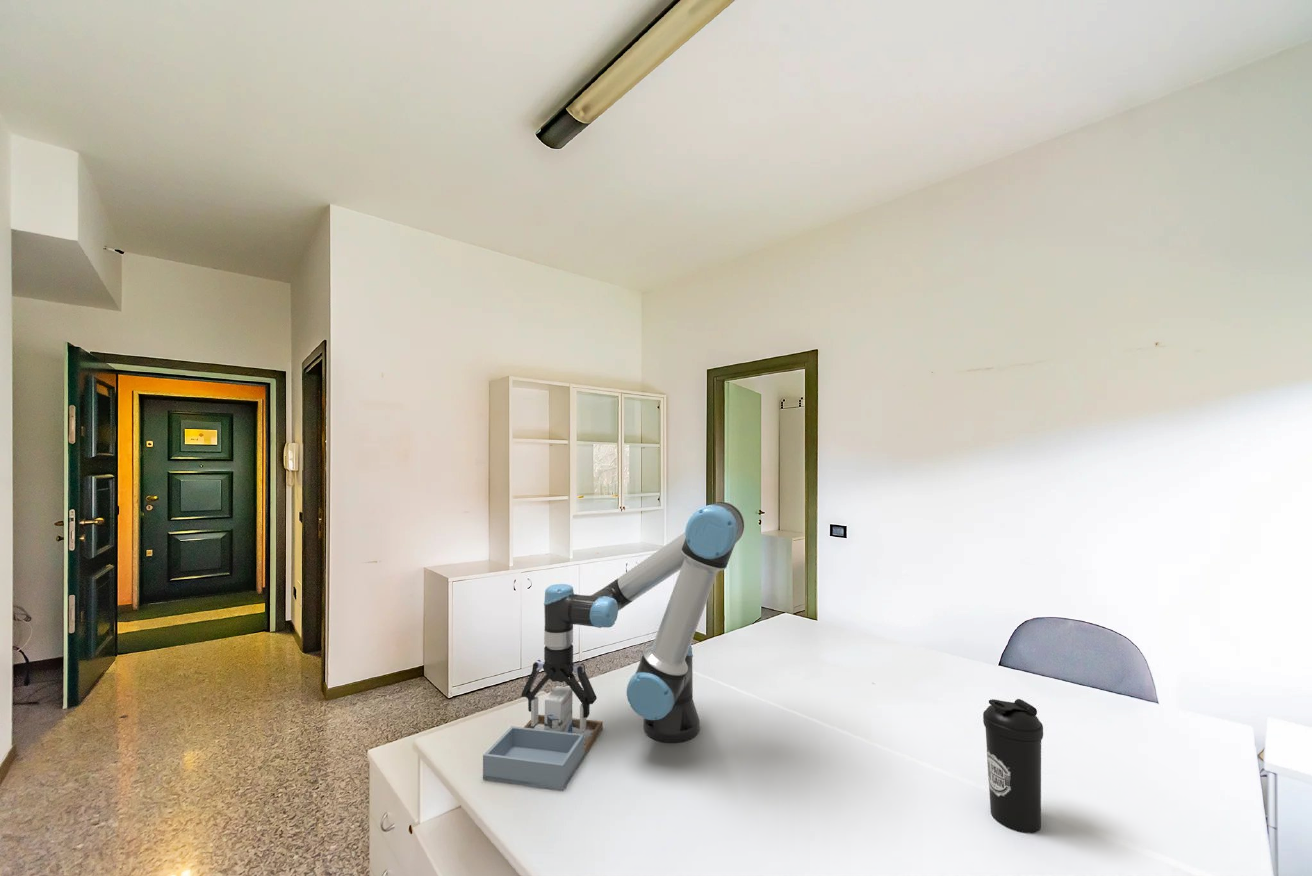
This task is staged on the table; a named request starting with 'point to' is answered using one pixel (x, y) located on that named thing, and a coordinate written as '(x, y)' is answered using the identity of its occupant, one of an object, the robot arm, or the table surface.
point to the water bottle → (1014, 764)
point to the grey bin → (534, 758)
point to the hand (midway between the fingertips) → (558, 726)
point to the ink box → (559, 710)
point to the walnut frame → (576, 723)
